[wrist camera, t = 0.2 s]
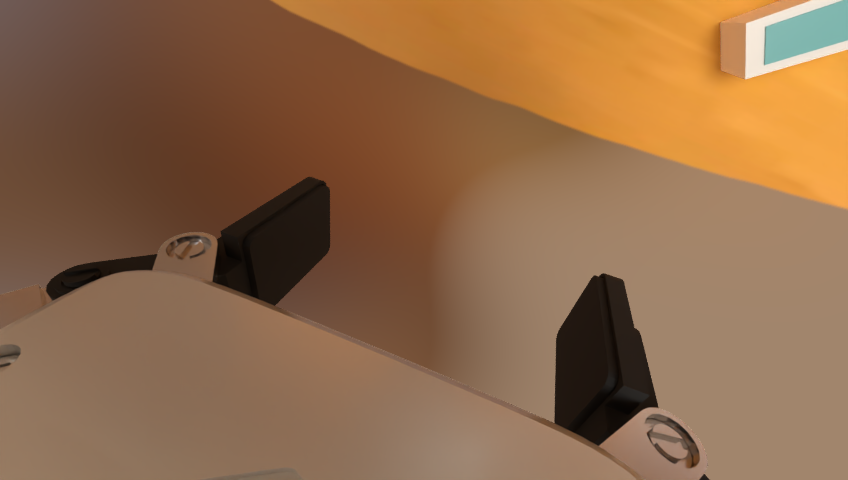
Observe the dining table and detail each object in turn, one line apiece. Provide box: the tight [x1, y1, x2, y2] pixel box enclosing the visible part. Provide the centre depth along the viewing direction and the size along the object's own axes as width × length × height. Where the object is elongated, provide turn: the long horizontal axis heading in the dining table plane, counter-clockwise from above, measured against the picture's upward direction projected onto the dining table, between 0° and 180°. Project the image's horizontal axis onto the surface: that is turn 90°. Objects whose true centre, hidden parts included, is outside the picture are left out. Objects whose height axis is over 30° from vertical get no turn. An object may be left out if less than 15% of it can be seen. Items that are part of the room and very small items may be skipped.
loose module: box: [720, 0, 848, 79], centre depth 29 cm, size 4×8×6 cm, turn 113°
